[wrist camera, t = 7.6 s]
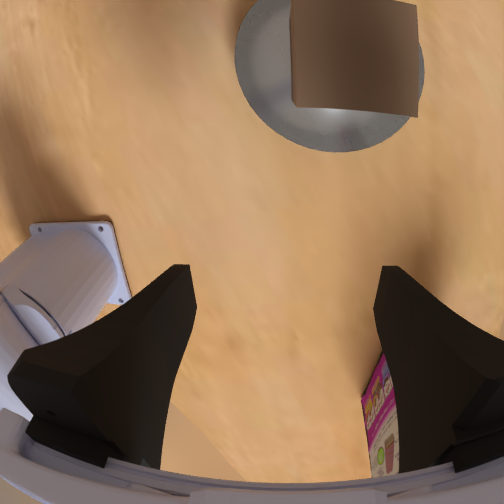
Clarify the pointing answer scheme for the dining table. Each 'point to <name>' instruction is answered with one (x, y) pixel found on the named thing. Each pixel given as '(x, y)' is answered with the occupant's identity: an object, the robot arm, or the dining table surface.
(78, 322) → the robot arm
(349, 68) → the walnut block
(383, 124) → the biscuit tin
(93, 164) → the dining table surface
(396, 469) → the candy bar box
